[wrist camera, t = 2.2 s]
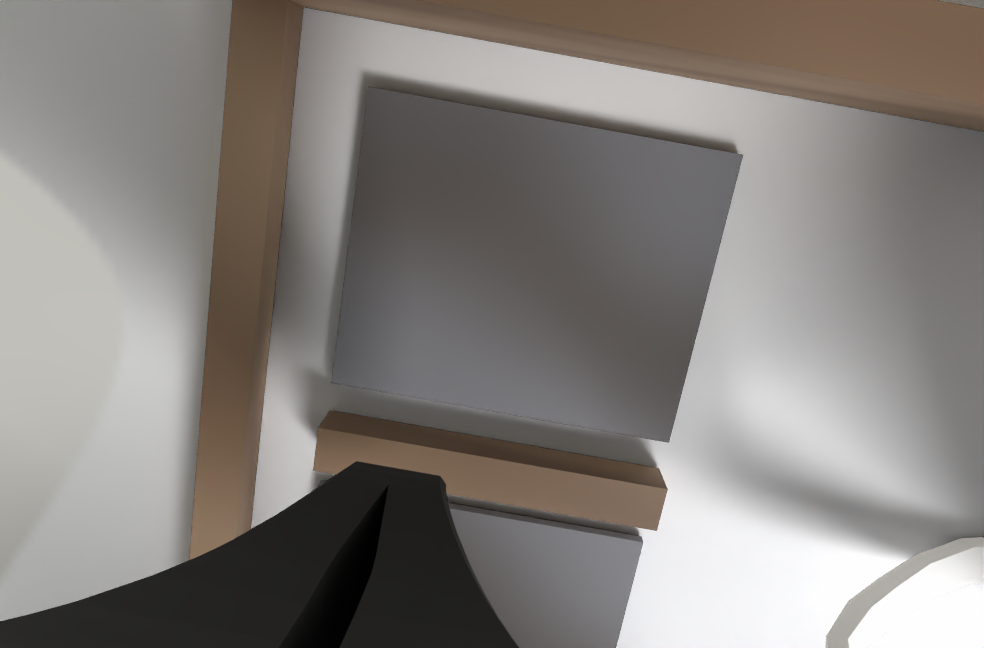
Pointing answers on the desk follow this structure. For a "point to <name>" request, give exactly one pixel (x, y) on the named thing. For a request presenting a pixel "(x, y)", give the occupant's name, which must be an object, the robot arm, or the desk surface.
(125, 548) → the desk surface
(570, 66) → the desk surface
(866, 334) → the desk surface
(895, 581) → the cup
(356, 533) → the robot arm
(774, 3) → the trap box
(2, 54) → the desk surface
